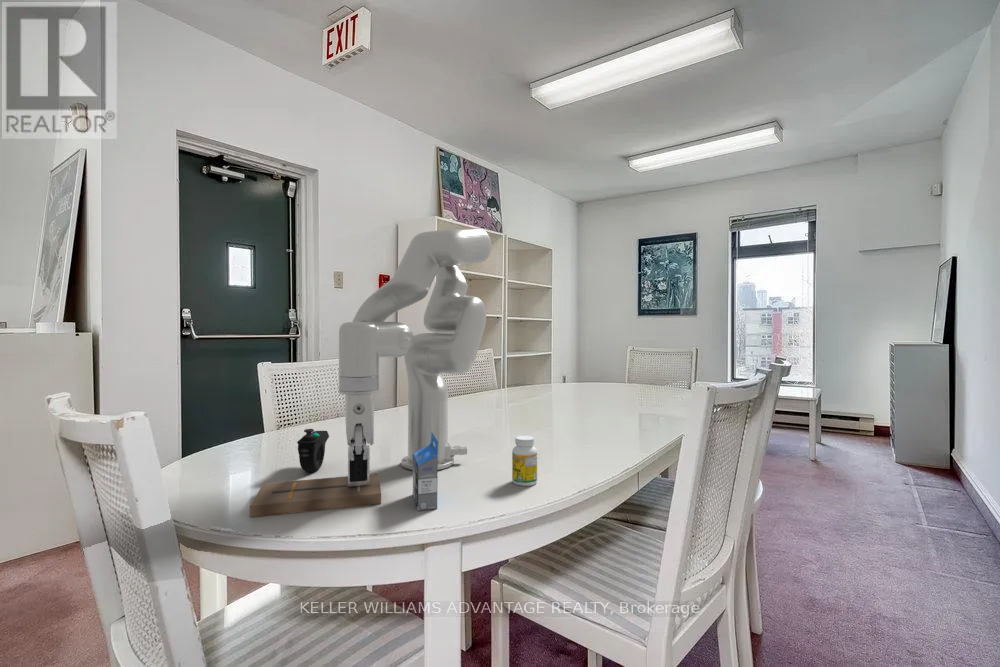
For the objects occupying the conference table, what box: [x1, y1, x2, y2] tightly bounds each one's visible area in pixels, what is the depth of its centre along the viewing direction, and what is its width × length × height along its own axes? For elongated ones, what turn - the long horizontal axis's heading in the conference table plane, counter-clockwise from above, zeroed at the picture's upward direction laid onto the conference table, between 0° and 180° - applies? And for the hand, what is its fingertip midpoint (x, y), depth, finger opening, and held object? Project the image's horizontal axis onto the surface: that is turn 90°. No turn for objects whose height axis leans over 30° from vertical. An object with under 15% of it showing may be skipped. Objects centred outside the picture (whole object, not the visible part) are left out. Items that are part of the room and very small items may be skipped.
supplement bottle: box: [511, 435, 538, 487], centre depth 99 cm, size 5×5×10 cm
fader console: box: [249, 473, 382, 518], centre depth 89 cm, size 22×12×2 cm, turn 107°
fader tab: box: [347, 444, 371, 487], centre depth 91 cm, size 4×3×7 cm
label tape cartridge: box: [412, 432, 439, 512], centre depth 87 cm, size 9×4×12 cm, turn 17°
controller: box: [296, 428, 330, 472], centre depth 107 cm, size 4×12×10 cm, turn 5°
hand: (358, 473), depth 91 cm, fingers open, 7 cm apart
